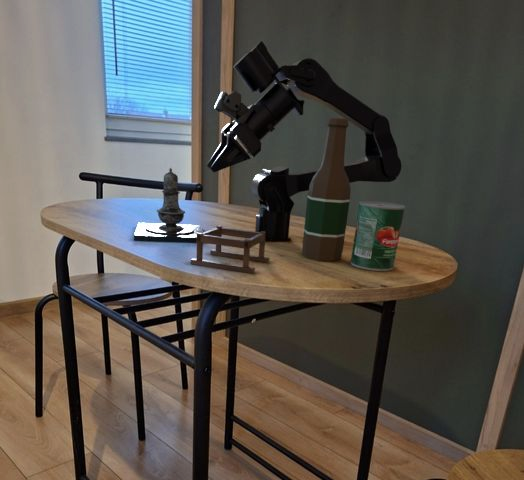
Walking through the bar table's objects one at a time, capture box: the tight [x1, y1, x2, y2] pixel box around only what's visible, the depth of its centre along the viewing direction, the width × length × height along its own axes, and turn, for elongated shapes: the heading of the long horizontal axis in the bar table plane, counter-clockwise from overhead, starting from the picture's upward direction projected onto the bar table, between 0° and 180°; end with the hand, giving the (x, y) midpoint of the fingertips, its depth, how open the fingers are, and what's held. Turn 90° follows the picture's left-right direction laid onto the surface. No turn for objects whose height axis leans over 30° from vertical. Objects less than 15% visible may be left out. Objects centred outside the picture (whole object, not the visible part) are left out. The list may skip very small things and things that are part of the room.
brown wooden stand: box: [190, 225, 270, 274], centre depth 80 cm, size 9×11×5 cm
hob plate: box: [133, 222, 204, 244], centre depth 100 cm, size 14×14×1 cm
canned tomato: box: [349, 200, 406, 272], centre depth 85 cm, size 8×8×11 cm
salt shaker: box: [156, 167, 186, 231], centre depth 97 cm, size 6×6×12 cm
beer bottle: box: [301, 117, 352, 262], centre depth 86 cm, size 8×8×24 cm
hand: (210, 168), depth 96 cm, fingers open, 9 cm apart
